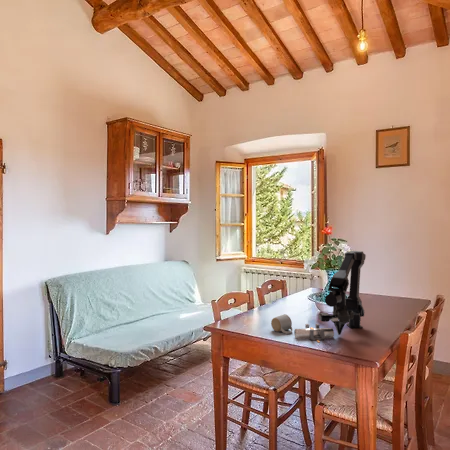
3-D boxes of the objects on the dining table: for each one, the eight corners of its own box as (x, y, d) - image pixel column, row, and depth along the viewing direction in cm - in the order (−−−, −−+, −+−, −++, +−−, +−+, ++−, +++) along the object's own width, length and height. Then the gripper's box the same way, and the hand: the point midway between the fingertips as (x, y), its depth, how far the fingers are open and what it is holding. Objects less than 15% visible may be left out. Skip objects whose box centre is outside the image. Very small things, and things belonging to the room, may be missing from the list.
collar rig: (304, 332, 185) (304, 322, 185) (317, 332, 186) (317, 322, 186) (311, 342, 171) (312, 331, 171) (325, 342, 171) (326, 331, 171)
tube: (296, 339, 175) (296, 330, 175) (294, 336, 180) (294, 327, 179) (334, 338, 177) (334, 329, 176) (330, 335, 181) (330, 326, 181)
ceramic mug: (269, 330, 189) (270, 315, 189) (281, 327, 194) (281, 312, 194) (284, 336, 181) (284, 320, 180) (296, 332, 185) (296, 317, 185)
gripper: (324, 306, 170) (324, 340, 170) (365, 306, 170) (365, 340, 171) (318, 301, 181) (318, 332, 182) (356, 300, 181) (356, 332, 182)
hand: (339, 334), depth 179 cm, fingers closed
